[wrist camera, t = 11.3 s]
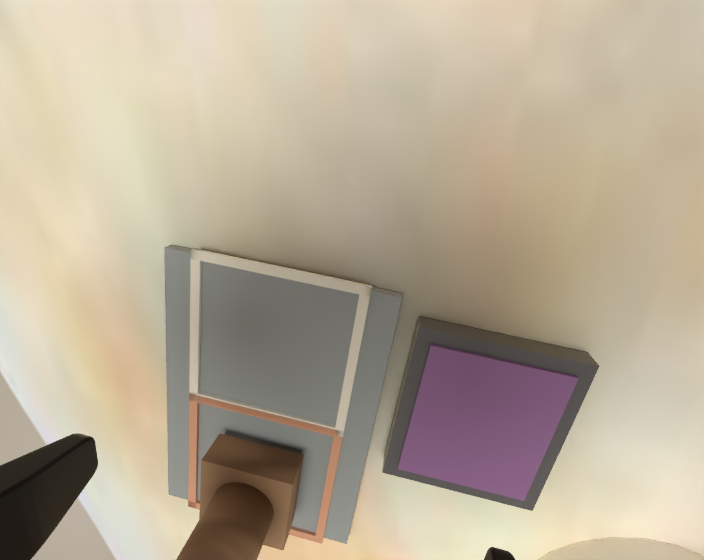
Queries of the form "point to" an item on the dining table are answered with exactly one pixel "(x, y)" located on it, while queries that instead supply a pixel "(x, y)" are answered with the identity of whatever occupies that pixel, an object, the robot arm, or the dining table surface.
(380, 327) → the board
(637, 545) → the honey pot
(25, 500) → the robot arm
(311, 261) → the dining table surface
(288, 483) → the stamp
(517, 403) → the ink pad
